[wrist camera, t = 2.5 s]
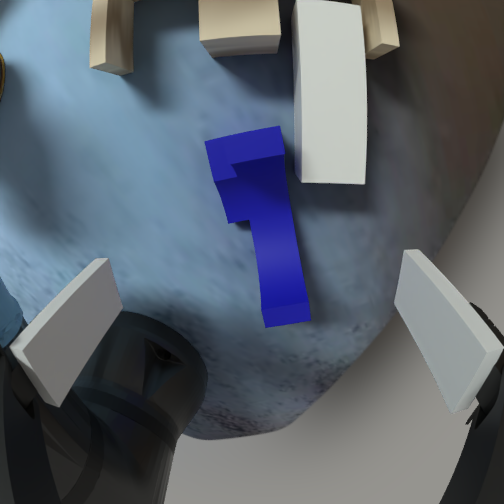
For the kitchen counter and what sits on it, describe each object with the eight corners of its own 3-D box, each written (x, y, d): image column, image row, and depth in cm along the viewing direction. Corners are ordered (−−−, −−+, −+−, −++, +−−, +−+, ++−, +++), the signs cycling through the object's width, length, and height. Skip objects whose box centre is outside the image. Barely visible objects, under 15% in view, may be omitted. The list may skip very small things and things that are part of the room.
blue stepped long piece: (212, 139, 20) (193, 144, 14) (274, 126, 19) (279, 125, 14) (247, 285, 24) (243, 330, 19) (300, 276, 24) (311, 320, 18)
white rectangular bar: (346, 173, 21) (364, 184, 17) (294, 172, 21) (301, 182, 17) (343, 23, 16) (360, 5, 12) (290, 18, 16) (296, -2, 12)
